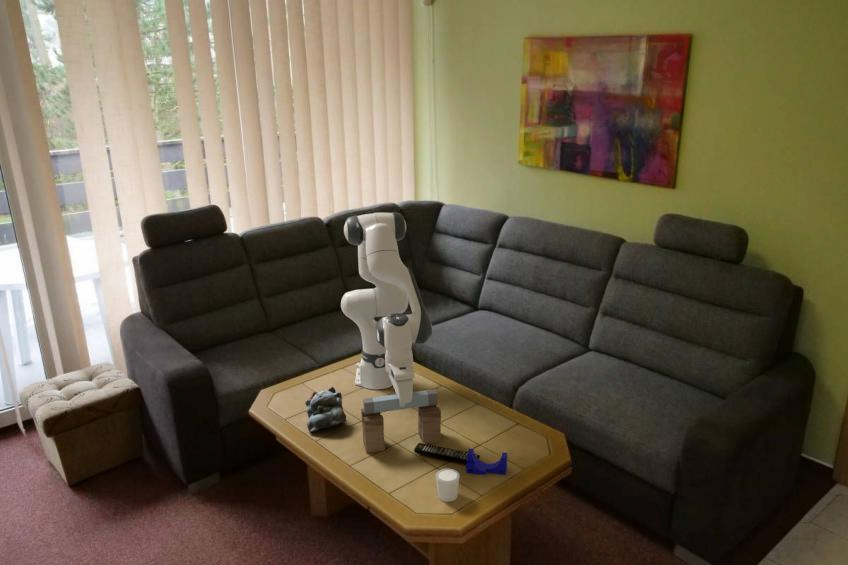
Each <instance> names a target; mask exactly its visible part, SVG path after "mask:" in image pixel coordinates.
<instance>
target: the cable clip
mask: <svg viewBox="0 0 848 565" xmlns="http://www.w3.org/2000/svg"><path fill="white" fill-rule="evenodd" d="M465 471H466V472H465V473H466V474H470V475H471V474H473V475H479V476H480V475H481V476H486V475H487V473H488V474H494V475H495V474H497V475H504V476H506V475H507V471H508V452H502V453H501V457H500V458H499V459H498V460H497V461H495V462H491V463H489V462H484V461H482V460H480V459H479V458H478V457H477V456H476V454H475V450H474V448H468V450H467V453H466V464H465Z"/></svg>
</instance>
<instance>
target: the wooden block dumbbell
mask: <svg viewBox="0 0 848 565" xmlns="http://www.w3.org/2000/svg"><path fill="white" fill-rule="evenodd" d="M416 408H417V425H418V426H417V427H418V436H419V437H420V440H421V442H423V443H430V444H436V443H441V442H442V440H441V439H442V436H441V435H442V434H441V432H442V431H441V430H442V427H441V426H442V425H441V422H442V410H441V408H440V406H437V405H429V406H422V407H416ZM381 413H382V412H378V413H371V414H365V412H364V408H361V409H360V414H361V415H360V416H361V425H362V426H361V427H362V429H361V430H362V442H363V446H364V449H365V453H366V454H367V453H375V452H381V451H385V450H386V449H385V448H386V447H385V432H384V431H385V427H384V426H385V423H384V422H385V420H384V415H383V414H381ZM423 443H422V444H423Z"/></svg>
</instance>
